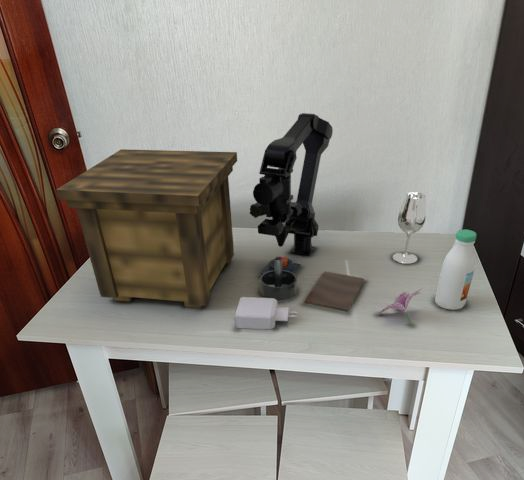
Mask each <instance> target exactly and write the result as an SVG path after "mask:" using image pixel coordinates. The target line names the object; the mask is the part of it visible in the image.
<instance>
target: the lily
mask: <svg viewBox="0 0 524 480" xmlns="http://www.w3.org/2000/svg"><path fill="white" fill-rule="evenodd" d="M421 290H422V288H420V289H418V290H416V291H414V292H412V293H411V294H409V292H408V291H403V292H401V293H399V294H398V295H397V296H396V297H395V298H394V300H393V303H391V304H388V305H386V306H385V307H383V308H382V310H381V311H379V312H378V313H377V315H380V314H382V313H383V312H385V311H388V310H389V309H393V310H399V311H404V312H405V314H406V316H407V320H408V322H409V325H410V326H412V322H411V319H410V316H409V313H408V310H407V309H408V306H409V304H410V302H411V300H412V298H413V297H415V296H417V295H419V294H421V292H420V291H421Z"/></svg>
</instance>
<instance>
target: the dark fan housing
mask: <svg viewBox="0 0 524 480" xmlns="http://www.w3.org/2000/svg"><path fill="white" fill-rule="evenodd" d="M273 284H275V280H274V270H272V271H268V272H266V273H264V274H263V275H260V278H259V287H260V288H259V292H260V294H261V296H263V298H274V299H276V300H277V301H284V300H289V299H290V298H293V297H294V296H296V294H297V289H298V277H297V275H296V274H295V273H294V274H293V273H292V272H289V271H286V270H282V284H284V285H287V286H283V287H273V286H269V285H273Z"/></svg>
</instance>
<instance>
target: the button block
mask: <svg viewBox="0 0 524 480" xmlns="http://www.w3.org/2000/svg"><path fill="white" fill-rule="evenodd" d="M287 259H288V265H287V266H284V267H282V270H286V271H289V272H292V273H293V274H295V273H296V272H297V271H298V270H299V268H301V263H300V262H299V263H298V262H293V260H291V259H290V258H287ZM272 270H274V258H273V259H271V260H270V261H269V263H268V265H267V266H266V267H265V268H264V269H263V270H262V272H261V273H260V276H262V275H263V274H264V273H266V272H268V271H272Z"/></svg>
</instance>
